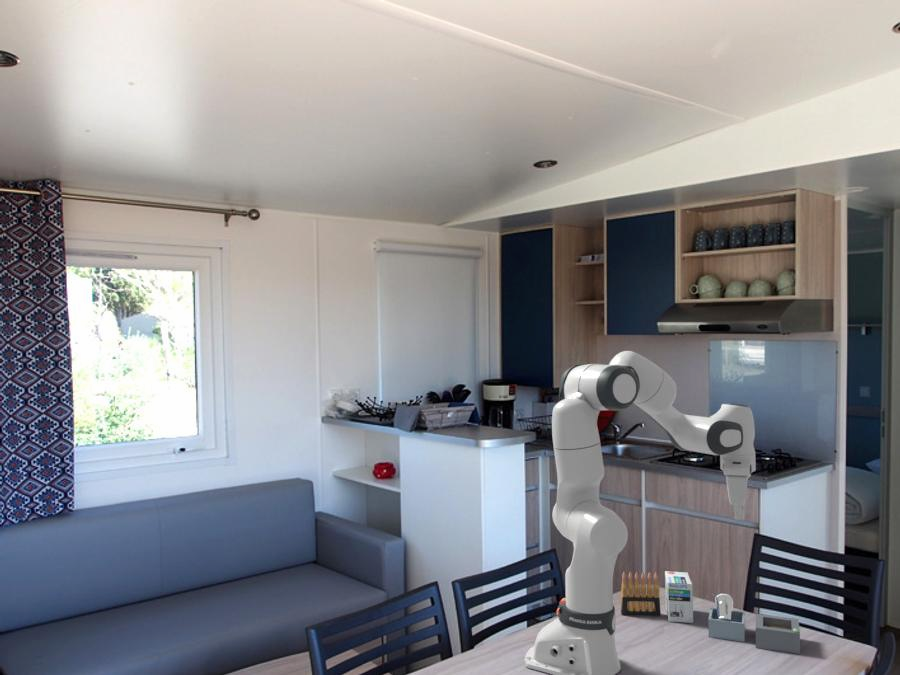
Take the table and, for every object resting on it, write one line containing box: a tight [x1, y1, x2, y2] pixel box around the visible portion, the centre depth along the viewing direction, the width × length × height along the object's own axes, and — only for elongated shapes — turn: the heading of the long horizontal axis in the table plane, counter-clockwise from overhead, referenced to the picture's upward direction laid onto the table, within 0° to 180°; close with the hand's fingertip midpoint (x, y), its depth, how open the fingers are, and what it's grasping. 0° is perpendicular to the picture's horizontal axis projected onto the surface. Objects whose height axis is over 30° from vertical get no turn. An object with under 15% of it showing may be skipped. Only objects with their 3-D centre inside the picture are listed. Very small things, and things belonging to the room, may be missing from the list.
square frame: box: [755, 613, 801, 655], centre depth 185 cm, size 10×10×6 cm
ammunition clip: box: [620, 571, 662, 617], centre depth 205 cm, size 11×2×12 cm, turn 84°
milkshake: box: [711, 593, 734, 621], centre depth 193 cm, size 4×5×10 cm
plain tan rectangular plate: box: [764, 625, 790, 630], centre depth 185 cm, size 6×6×1 cm
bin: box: [707, 607, 746, 643], centre depth 192 cm, size 9×9×5 cm
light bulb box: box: [664, 570, 694, 624], centre depth 204 cm, size 11×7×11 cm, turn 168°
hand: (739, 515), depth 196 cm, fingers open, 8 cm apart
